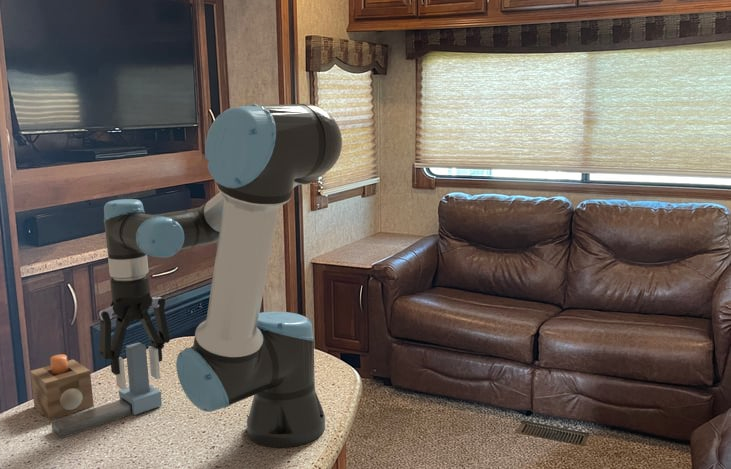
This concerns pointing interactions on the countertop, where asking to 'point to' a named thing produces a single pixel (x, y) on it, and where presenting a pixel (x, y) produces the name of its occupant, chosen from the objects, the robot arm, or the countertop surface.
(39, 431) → the countertop surface
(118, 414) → the rail
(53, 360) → the orange rounded cylinder
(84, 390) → the wooden box
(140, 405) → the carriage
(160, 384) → the countertop surface
